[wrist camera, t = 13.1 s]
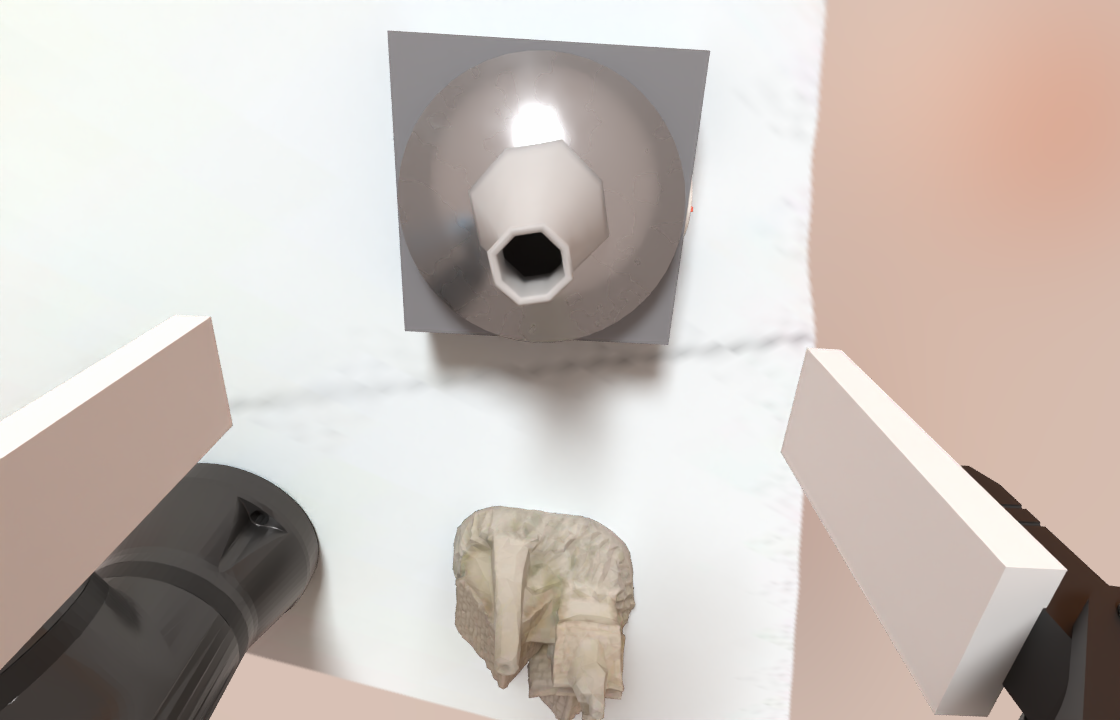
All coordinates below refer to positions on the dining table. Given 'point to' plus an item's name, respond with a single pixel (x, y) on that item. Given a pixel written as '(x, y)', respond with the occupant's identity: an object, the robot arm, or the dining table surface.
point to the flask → (538, 219)
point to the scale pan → (528, 118)
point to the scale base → (653, 71)
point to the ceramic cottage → (546, 604)
